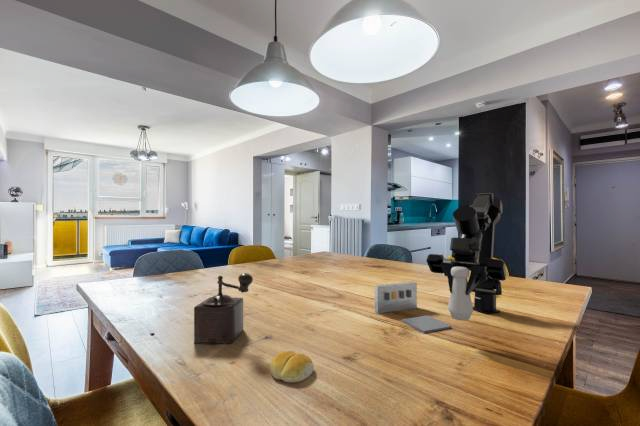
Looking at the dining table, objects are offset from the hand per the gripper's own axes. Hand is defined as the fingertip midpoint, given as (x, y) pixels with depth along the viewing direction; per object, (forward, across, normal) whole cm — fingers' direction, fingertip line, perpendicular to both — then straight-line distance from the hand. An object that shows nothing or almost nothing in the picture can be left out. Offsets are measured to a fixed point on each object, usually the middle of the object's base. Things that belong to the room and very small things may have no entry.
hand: (458, 293), depth 76 cm
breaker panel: (-2, -25, +21) cm, 32 cm away
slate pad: (+3, -12, +16) cm, 20 cm away
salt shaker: (+4, 0, +6) cm, 7 cm away
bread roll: (+34, -24, -16) cm, 45 cm away
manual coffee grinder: (+33, -51, -14) cm, 62 cm away
